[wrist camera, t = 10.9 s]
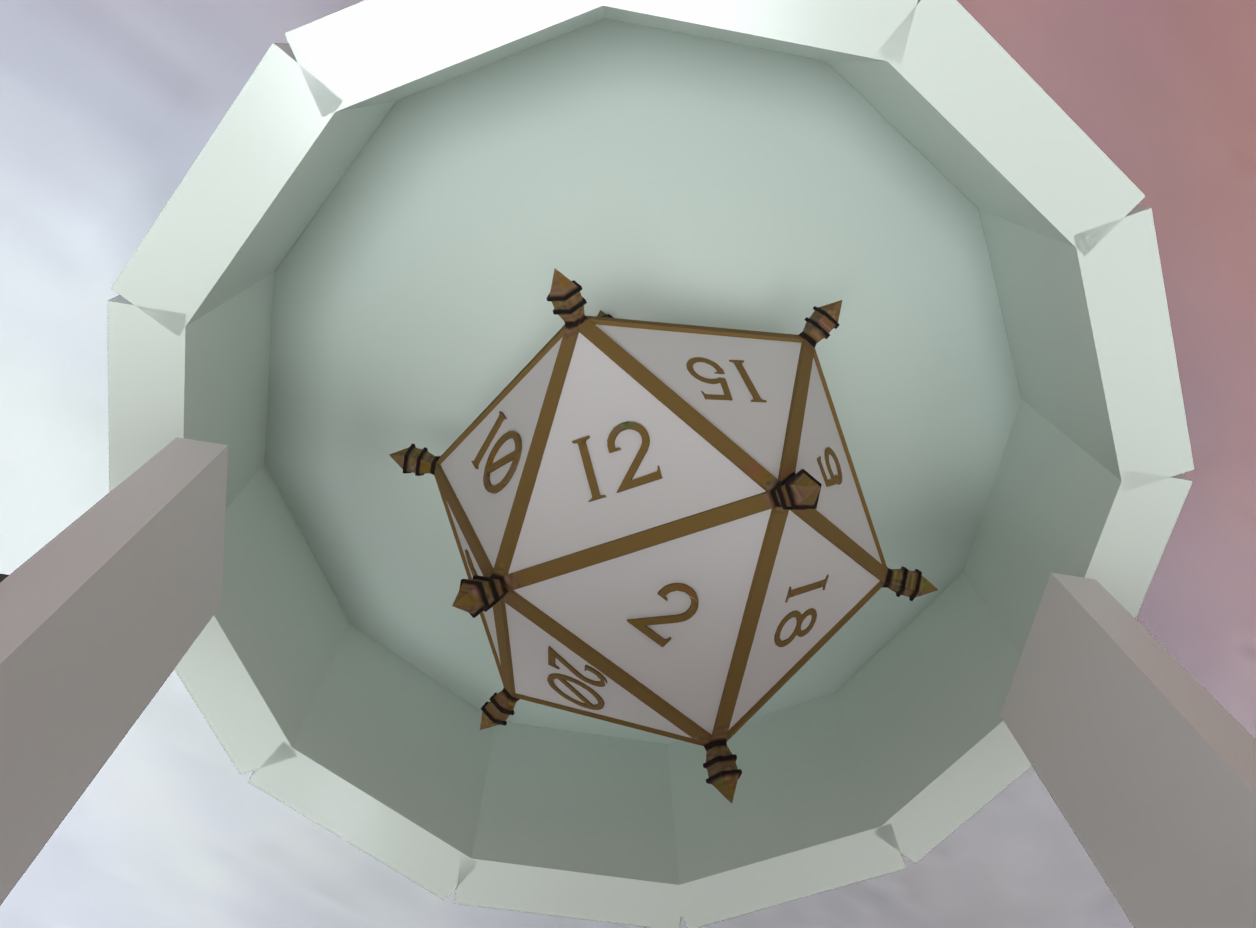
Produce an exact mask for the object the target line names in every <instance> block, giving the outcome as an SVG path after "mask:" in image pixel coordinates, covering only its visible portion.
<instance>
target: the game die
mask: <svg viewBox="0 0 1256 928" xmlns="http://www.w3.org/2000/svg"><path fill="white" fill-rule="evenodd" d="M581 290H582V286H581V285H579V284H578V283H577V282H576V281H574V280H573V281H570V280H569V279H568V278H567V277H565V276H564V275H563V274H562V273H561V272H559V271H558V270H557V269H556V268H555V269H554V274H553V280H552V285H551V291H550V293H549V295H548V296H547V298H546V299H547V301H551V302H552V304H553V306H554V310H553V313H554V315H556V314H558V315H559V316H560V317H561V318H562V319H563V320H564V322H565V325H564V326H563V327H562V328H561V329H560V330H559V331H558V332H557V333H556V334H555V335H554V336H553V337H552V338H551V340H550V341H549V342H548V343H547V344H546V345H545V346H544V347H543V348H542V349H541V350H540V351H539V352H538V353H537V354H536V355H535V357H534V358H533V359H532V360H531V361H530V362H529V363H528V364H527V365H526V366H525V367H524V368H523V369H522V370H521V371H520V372H519V374H518V375H517V376H516V377H515V378H514V379H513V380H512V381H511V382H510V383H509V384H508V385H507V386H506V387H505V388H504V389H503V391H502V392H501V393H500V394H499V395H498V396H497V397H496V398H495V399H494V400H493V401H492V402H491V403H490V404H489V405H488V406H487V407H486V409H485V410H484V411H483V412H482V413H481V414H480V415H479V416H478V417H477V418H476V419H475V420H474V421H473V422H472V423H471V424H470V426H469V427H468V428H467V429H466V430H465V431H464V432H463V433H462V434H461V435H460V436H459V437H458V438H457V439H456V440H455V441H454V443H453V444H452V445H451V446H450V447H449V448H448V449H447V450H446V451H445V452H444V453H443V454H442V455H441V456H434V455H433V454H431V453H429V452H428V449H427V448H425V447H424V448H423V449H419V448H416V446H415V444H413V443H412V445H411V446H410V447H408V448H406V449H403V450H400V451H397V452H395V453H392V454H389V455H390V457H391V458H392V459H393V460H394V461H395V462H396V463H397V464H398V465H399V466H400V467H401V468H402V469H403V473H405V474H406V473H412V472H413V473H415V475H416V476H422V475H424V474H427V473H430V474H433V475H434V476H435V479H436V482H437V485H438V488H439V492H440V495H441V498H442V501H443V504H444V507H445V510H446V513H447V516H448V519H449V522H450V525H451V528H452V531H453V534H454V537H455V540H456V543H457V546H458V549H459V552H460V555H461V558H462V561H463V564H464V567H465V570H466V573H467V577H468V579H461V582H460V589H459V592H458V594H457V596H456V598H455V601H454V603H453V605H452V606H453V607H456V608H458V609H461V610H463V611H466V612H468V613H469V614H470V615H471V616H472V617H473V618H475V617H477V616H478V615H479V614H480V616H481V619H482V622H483V625H484V628H485V631H486V634H487V637H488V640H489V643H490V646H491V649H492V652H493V655H494V658H495V662H496V665H497V668H498V671H499V674H500V677H501V680H502V683H503V686H504V688H503V690H502V691H501V692H499V693H498V694H497V693H496V692H495V693H494V694H493V695H492V696H491V698H490V699H489V700H490V702H486V703H485V704H484V705H483V706H482V707H481V708H480V709H481V710H482V717H481V724H480V730H483V729H486V728H490V727H493V726H497V725H504V726H506V724H507V722H506V719H507V718H508V717H509V715H512V716H513V715H514V710H513V709H514V706H515V704H516V702H517V701H518V700H520V699H522V700H526V701H530V702H534V703H537V704H541V705H545V706H549V707H553V708H557V709H561V710H565V711H569V712H572V713H576V714H580V715H584V716H588V717H592V718H596V719H600V720H604V721H607V722H611V723H615V724H619V725H623V726H627V727H631V728H635V729H638V730H642V731H646V732H650V733H654V734H658V735H662V736H666V737H670V738H673V739H677V740H681V741H685V742H689V743H693V744H697V745H701V746H704V748H705V750H706V751H707V752H706V763H704V764H703V768H706V769H707V772H708V777H709V778H708V779H706V783H708V784H712V785H713V786H714V787H715V788H716V789H717V790H718V791H719V792H720V793H721V794H722V795H723V796H724V797H725V798H726V799H727V800H728V801H729V802H730V803H731V804H732V802H733V797H734V793H735V789H736V785H737V781H738V779H739V778H740V776H741V774H742V770H741V769H738V768H737V765H736V760H737V755H736V754H734V755H733V754H732V753H731V751H730V749H729V748H728V746H727V741H728V740H729V739H730V738H731V737H732V736H733V735H734V734H735V733H736V732H737V731H738V730H739V729H740V728H741V727H742V726H743V725H744V724H745V723H746V722H747V721H748V720H749V719H750V718H751V717H752V716H753V715H754V714H755V713H756V712H757V711H758V710H759V709H760V708H761V707H762V706H763V705H764V704H765V703H766V702H767V701H768V700H769V699H770V698H771V697H772V696H773V695H774V694H775V693H776V692H777V691H778V690H779V689H780V688H781V687H782V686H783V685H784V684H785V683H786V682H787V681H788V680H789V679H790V678H791V677H792V676H793V675H794V674H795V673H796V672H797V671H798V670H799V669H800V668H801V667H802V666H803V665H804V664H805V663H806V662H807V661H808V660H809V659H810V658H811V657H812V656H813V655H814V654H815V653H816V652H817V651H818V650H819V649H821V648H822V647H823V646H824V645H825V644H826V643H827V642H828V641H829V640H830V639H831V638H832V637H833V636H834V635H835V634H836V633H837V632H838V631H839V630H840V629H841V628H842V627H843V626H844V625H845V624H846V623H847V622H848V621H849V620H850V619H851V618H852V617H853V616H854V615H855V614H856V613H857V612H858V611H859V610H860V609H861V608H862V607H863V606H864V605H865V604H866V603H867V602H868V601H869V600H870V599H871V598H872V597H873V596H874V595H875V594H876V593H877V592H878V591H879V590H880V589H881V588H882V587H883V588H889V589H890V590H892V591H894V592H895V593H896V596H897V597H900V595H903V596H907V597H909V600H910V601H913V600H914V598H916V597H919V596H922V595H925V594H928V593H931V592H934V591H937V590H938V589H937V588H936V587H935V586H934V585H933V584H931V583H930V582H929V581H928V580H927V579H926V578H924V577H923V576H922V572H921V571H920V570H918V569H915V571H910V570H908V569H907V568H906V567H901V569H890V568H888V567H887V565H886V562H885V559H884V556H883V553H882V550H881V547H880V544H879V541H878V538H877V535H876V532H875V529H874V526H873V523H872V520H871V517H870V514H869V511H868V508H867V505H866V502H865V499H864V496H863V492H862V489H861V486H860V483H859V480H858V477H857V474H856V471H855V468H854V465H853V462H852V459H851V456H850V453H849V450H848V447H847V444H846V441H845V438H844V435H843V432H842V429H841V426H840V423H839V420H838V417H837V414H836V411H835V407H834V404H833V401H832V398H831V395H830V392H829V389H828V386H827V383H826V380H825V377H824V374H823V371H822V368H821V365H820V362H819V359H818V356H817V353H816V350H815V346H816V344H817V343H818V342H819V341H821V340H822V339H824V338H825V339H827V338H828V337H829V336H830V334H829V333H830V332H831V331H832V329H833V328H835V329H837V328H838V327H839V325H840V324H839V323H838V320H839V315H840V310H841V305H842V300H840V301H837V302H834V303H831V304H828V305H825V306H821V307H816V306H814V307H813V309H814V312H813V314H812V315H811V316H810V318H807V317H806V318H805V319H804V320H805V321H806V324H805V327H804V329H803V332H801V333H800V334H799V335H795V334H784V333H773V332H762V331H751V330H740V329H729V328H718V327H707V326H696V325H685V324H674V323H663V322H652V321H641V320H630V319H619V318H613V317H612V316H611V315H610V314H605V313H604V312H603V311H601V310H600V312H599V313H598V315H597V316H586V315H585V314H584V305H585V304H586V303H587V302H586V299H584V298H583V297H582V296H581V293H580V291H581Z"/></svg>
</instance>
